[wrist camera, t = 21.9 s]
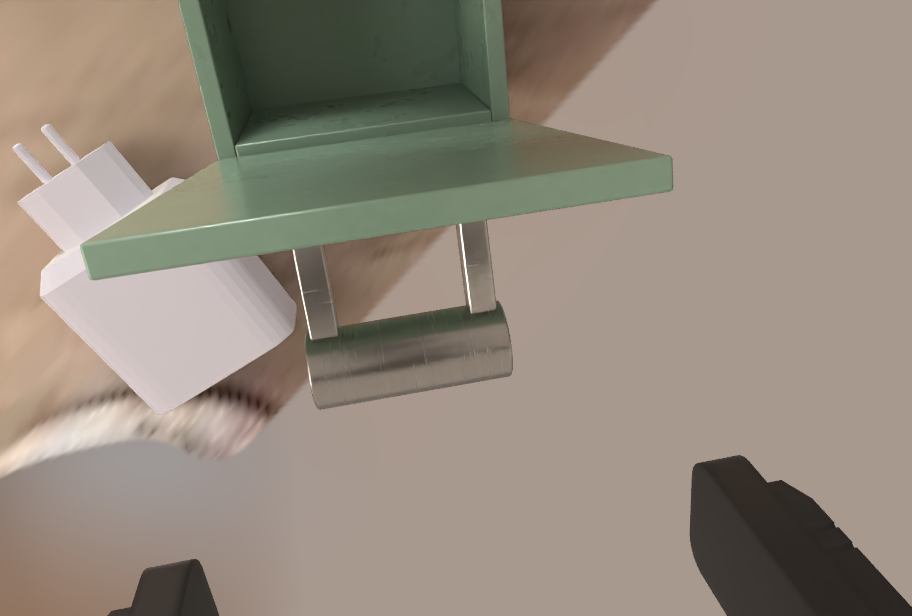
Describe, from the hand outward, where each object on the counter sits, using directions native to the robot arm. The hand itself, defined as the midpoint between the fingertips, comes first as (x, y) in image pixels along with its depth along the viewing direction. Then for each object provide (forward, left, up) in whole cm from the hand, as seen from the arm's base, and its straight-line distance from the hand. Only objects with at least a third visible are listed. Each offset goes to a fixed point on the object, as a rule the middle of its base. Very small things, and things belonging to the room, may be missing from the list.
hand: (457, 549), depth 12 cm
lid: (-3, +1, -14) cm, 14 cm away
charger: (-1, -13, -32) cm, 34 cm away
